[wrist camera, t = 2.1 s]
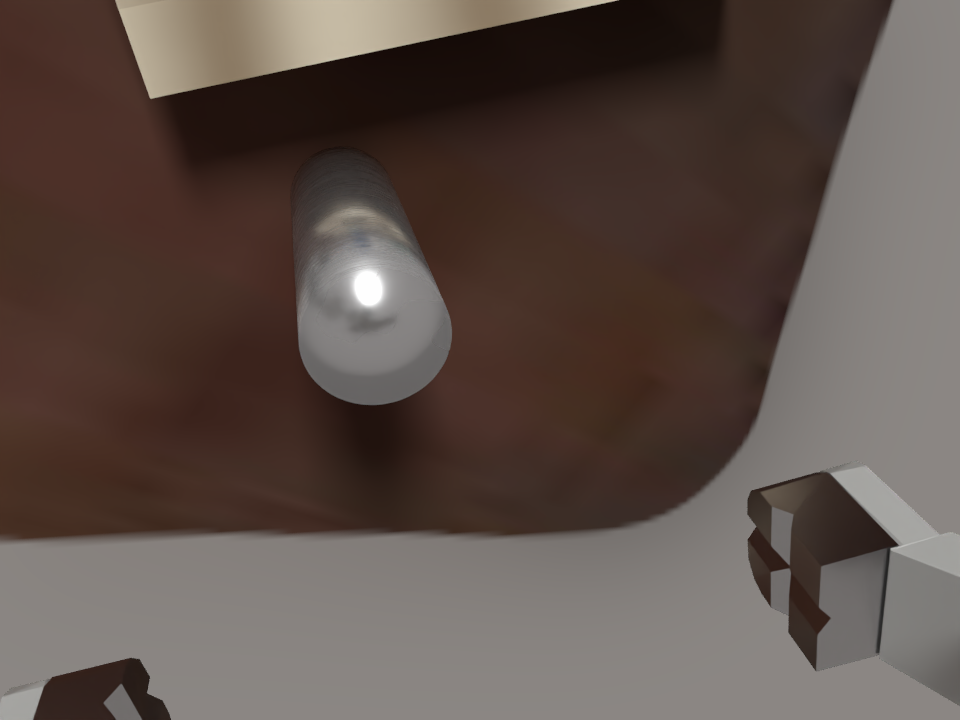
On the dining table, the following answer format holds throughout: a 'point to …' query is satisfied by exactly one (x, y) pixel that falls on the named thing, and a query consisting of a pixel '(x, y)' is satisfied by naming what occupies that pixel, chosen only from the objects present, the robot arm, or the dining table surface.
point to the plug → (362, 283)
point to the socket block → (294, 32)
